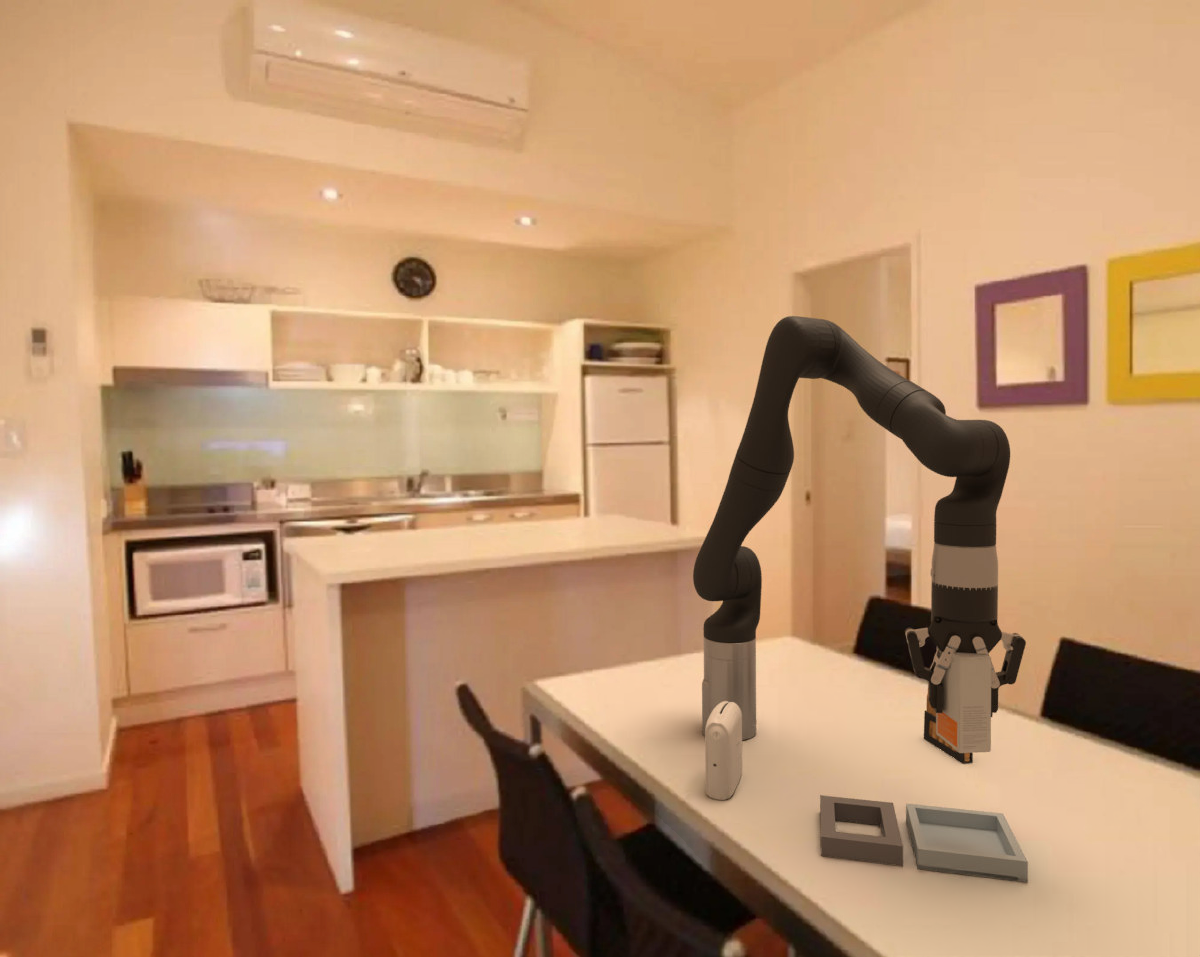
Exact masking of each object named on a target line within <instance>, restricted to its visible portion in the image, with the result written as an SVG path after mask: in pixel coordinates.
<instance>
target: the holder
mask: <svg viewBox="0 0 1200 957" xmlns="http://www.w3.org/2000/svg"><path fill="white" fill-rule="evenodd" d="M819 819H820V820H819V822H820V852H821V854H820V855H821V857H827V858H834V859H835V858H836V859H841V860H842V859H844V860H850V861H851V860H852V861H860V862H867V863H876V864H883V865H891V866H892V865H893V866H898V867H900V866H901V867H904V866H903V865H904V845H903V841H902V835H901V832H900V827H899V824H898V818H897V813H896V810H895V805H894V802H889V801H881V800H880V801H878V800H870V799H861V798H851V797H850V798H849V797H839V796H830V795H821V794H820V795H819ZM836 822H846V823H855V824H864V825H865V824H867V825H874V826H880V831H881V836H879V835H871V834H864V833H863V834H861V833H853V832H846V831H837V830H836V829H837V828H836V827H837V826H836Z"/></svg>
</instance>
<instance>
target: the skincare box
mask: <svg viewBox="0 0 1200 957" xmlns="http://www.w3.org/2000/svg"><path fill="white" fill-rule="evenodd" d="M938 649H939V648H938V647H937V646H936V651H937V650H938ZM939 654H940V657H941V655H942V652H941V651H940V650H939ZM991 661H992V657H991V656H990V655H989V656H988V655H984V654H982V655H977V653H959V652H955V654H952V656H951V663H950V665H949V668H948V669H947V670H946V672H945V674H944V676H943V678H942V680H941V683H942V685H943V696H942V713H936V734H937V735H938V736H939V737H941V738H942V739H943V740H944V741H946V742H947V743H948V744H949V745H950V746H952V747H953V748H954V749H955V750H956V751H957V752H959V753H990V752H991V751H992V738H991V737H992V717H991Z"/></svg>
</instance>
